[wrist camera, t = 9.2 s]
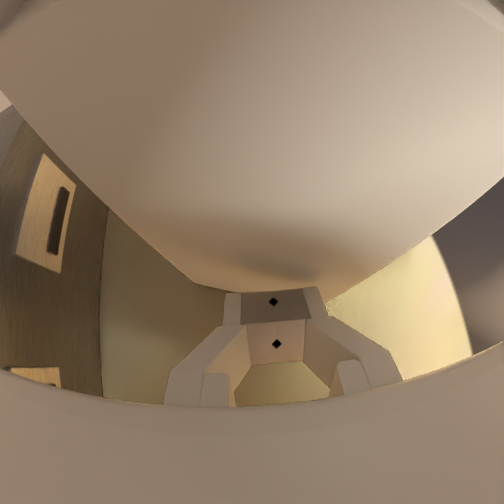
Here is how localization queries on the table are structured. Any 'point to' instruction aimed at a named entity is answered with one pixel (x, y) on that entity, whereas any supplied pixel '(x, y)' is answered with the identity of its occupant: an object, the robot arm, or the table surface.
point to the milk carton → (267, 124)
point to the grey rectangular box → (48, 264)
